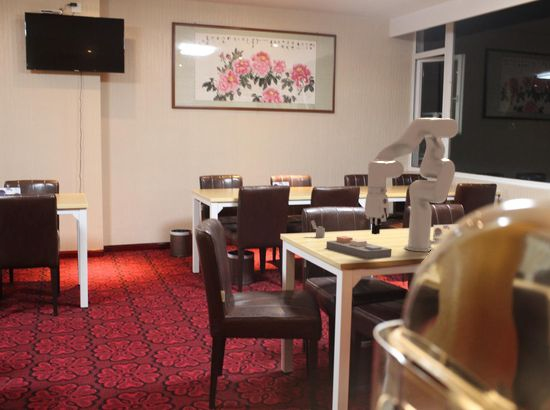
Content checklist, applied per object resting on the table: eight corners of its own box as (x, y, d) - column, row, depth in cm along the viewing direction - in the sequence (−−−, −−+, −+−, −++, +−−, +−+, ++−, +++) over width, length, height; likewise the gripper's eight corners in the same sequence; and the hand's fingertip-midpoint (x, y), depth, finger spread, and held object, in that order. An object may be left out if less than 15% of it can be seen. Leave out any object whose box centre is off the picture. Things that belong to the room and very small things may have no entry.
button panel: (349, 245, 273) (350, 239, 272) (391, 256, 252) (391, 249, 251) (326, 247, 265) (326, 241, 264) (367, 258, 244) (367, 251, 243)
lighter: (324, 237, 294) (325, 221, 293) (323, 237, 293) (324, 221, 292) (311, 235, 297) (312, 219, 296) (309, 236, 296) (310, 220, 295)
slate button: (372, 252, 254) (373, 245, 254) (381, 254, 250) (381, 247, 250) (364, 253, 251) (364, 246, 251) (372, 255, 247) (373, 248, 247)
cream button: (358, 246, 261) (358, 239, 261) (366, 247, 257) (366, 241, 257) (350, 246, 258) (350, 240, 258) (357, 248, 254) (358, 241, 254)
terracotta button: (344, 242, 269) (345, 236, 268) (352, 244, 265) (352, 237, 264) (336, 243, 266) (336, 236, 265) (343, 245, 262) (344, 238, 261)
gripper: (396, 191, 244) (394, 235, 247) (370, 188, 256) (369, 230, 259) (383, 193, 240) (382, 237, 242) (357, 189, 252) (356, 232, 254)
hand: (375, 233), depth 251 cm, fingers closed
